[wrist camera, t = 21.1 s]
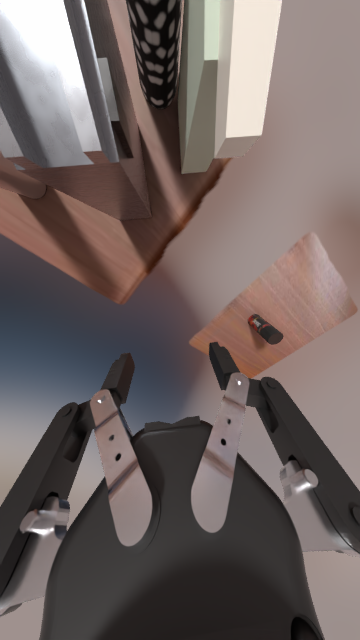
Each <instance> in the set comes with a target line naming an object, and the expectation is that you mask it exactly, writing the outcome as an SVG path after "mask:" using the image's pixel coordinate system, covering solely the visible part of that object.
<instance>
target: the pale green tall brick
mask: <svg viewBox="0 0 360 640" xmlns="http://www.w3.org/2000/svg"><path fill="white" fill-rule="evenodd" d="M219 15H220V0H184V15H183V29H182V43H181V58H180V72H179V86H178V117H179V136H180V154H181V173H182V174H186V173H198V172H206V171H207V169H208V168H209V166H210V164H211V162H212V160H213V158H214V153H215V125H216V97H217V70H218V42H219Z"/></svg>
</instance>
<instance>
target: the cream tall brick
mask: <svg viewBox="0 0 360 640" xmlns="http://www.w3.org/2000/svg"><path fill="white" fill-rule="evenodd" d="M281 4H282V0H220V15H219V42H218V70H217V97H216V125H215V153H214V159H217V158H230V157H242V156H244V155H245V154H246V153H247V151H248V150H249V149H250V148H251V147H252V146H253V145H254V143H255V142H256V141H257V140H258V139H259V138H260V136H261V135H262V129H263V123H264V116H265V109H266V103H267V96H268V89H269V83H270V76H271V70H272V64H273V57H274V51H275V44H276V37H277V31H278V24H279V18H280V11H281Z"/></svg>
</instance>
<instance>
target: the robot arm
mask: <svg viewBox="0 0 360 640" xmlns="http://www.w3.org/2000/svg"><path fill="white" fill-rule="evenodd" d="M0 188H3V189H6V190H9V191H12V192H15V193H17V194H20V195H23V196H26V197H29V198H34V199H38V198H41V197H42V196H43V195H44V194H45V192H46V184H44V183H42V182H40V181H38V180H36V179H34V178H32V177H30V176H28V175H26V174H24V173H22V172H20V171H18V170H17V169H16V167H15V165H14V163H13V162H11V161H10V160H8V159H6V158H4V156H3V154H2V152H1V151H0ZM209 357H210V361H211V364H212V366H213V369H214V372H215V374H216V377H217V380H218V383H219V385H220V388H221V390H225V391H226V392H225V395H224V397H223V399H222V402H221V405H220V407H219V410H218V414H217V416H216V419H215V422H214V425H213V426H212V425H211V424H209V423H208V422H205V421H202V420H200V418H199V416H195V417H187V418H185V419H182V420H180V421H178V422H176V423H173V424H170V423H164V422H151V423H145V428H143V429H142V430H140V431H139V432H137V433H136V434H135V435H134V436H133V434H132V432H131V430H130V428H129V426H128V424H127V422H126V420H125V417H124V415H123V413H122V411H121V409H120V405H121V404H124V403H126V399H127V396H128V392H129V388H130V384H131V380H132V376H133V373H134V368H135V365H134V361H133V359H132V356H131V354H130V353H124V354H121V356H120V358H119V360H116V361H115V362H114V363H113V364H112V366H111V368H110V371H109V373H108V375H107V377H106V379H105V381H104V383H103V385H102V388H101V390H100V391H99V392H97V393H96V394H95V395H94V396H93V397H92V399H91V400H89V401H87V402H84V403H82V404H79V405H78V404H77V403H75V402H72V403H69V404H67V405H65V406H64V407H62V408H61V409H60V410H59V411H58V412H57V414H56V415H55V417H54V419H53V420H52V422H51V424H50V425H49V427H48V429H47V430H46V432H45V434H44V435H43V437H42V439H41V440H40V442H39V444H38V445H37V447H36V449H35V450H34V452H33V454H32V455H31V457H30V459H29V460H28V462H27V464H26V465H25V467H24V468H23V470H22V472H21V474H20V475H19V477H18V478H17V480H16V482H15V483H14V485H13V487H12V489H11V490H10V492H9V494H8V495H7V497H6V498H5V500H4V502H3V503H2V505H1V507H0V616H3V615H5V614H8V613H10V612H12V611H14V610H16V609H17V608H18V607H19V606H20V605H21V604H22V603H24V602H26V601H30V600H33V599H37V598H40V597H44V596H45V601H44V611H43V620H42V626H41V633H40V639H39V640H325V639H324V637H323V633H322V631H321V628H320V625H319V622H318V619H317V615H316V612H315V609H314V605H313V602H312V598H311V595H310V590H309V587H308V582H307V577H306V573H305V566H304V559H303V554H302V552H308V551H332V550H334V551H336V552H339V553H345V554H347V555H350V556H355V557H360V491H359V490H358V489H357V487H356V486H355V485H354V483H353V482H352V480H351V479H350V478H349V476H348V475H347V474H346V472H345V471H344V469H343V468H342V467H341V465H340V464H339V463H338V461H337V460H336V459H335V457H334V456H333V455H332V453H331V452H330V451H329V449H328V448H327V446H326V445H325V444H324V443H323V441H322V440H321V438H320V437H319V436H318V434H317V433H316V431H315V430H314V429H313V427H312V426H311V425H310V423H309V422H308V421H307V419H306V418H305V417H304V415H303V414H302V412H301V411H300V410H299V408H298V407H297V406H296V404H295V403H294V402H293V400H292V399H291V398H290V396H289V395H288V393H287V392H286V391H285V390H284V388H283V387H282V385H281V384H280V383H279V382H278V381H277V380H275V379H273V378H271V377H263V378H262V379H261V381H260V380H254V379H249V378H247V377H246V376H245V375H244V374H242V373H240V371H239V369H238V368H237V366H236V364H235V362H234V361H233V359H232V357H231V355H230V353H229V352H228V350H227V349H226V348H225V347H220V346H219V344H218V342H213V343H210V344H209ZM245 405H247V406H251V407H256V409H257V411H258V414H259V416H260V418H261V420H262V422H263V424H264V426H265V428H266V430H267V432H268V435H269V437H270V439H271V441H272V443H273V445H274V447H275V449H276V451H277V453H278V455H279V458H280V459H281V461H282V464H283V467H282V468H281V470H280V480H281V483H282V486H283V489H284V501H283V503H282V502H281V500H280V499H279V497H278V496H277V495H276V494H275V492H274V491H273V490H272V489H271V488H270V487H269V486H268V485H267V484H266V482H265V481H264V480H263V479H262V478H261V477H260V476H259V475H258V474H257V473H256V472H255V470H254V469H253V468H252V467H251V466H250V465H249V464H248V463H247V462H246V461H245V460H244V459H243V457H242V456H241V455H240V454H239V453H238V446H239V441H240V436H241V430H242V425H243V419H244V414H245ZM94 428H95V429H94ZM92 429H94V432H95V437H96V441H97V445H98V449H99V453H100V457H101V461H102V465H103V469H104V473H105V477H104V478H103V480H102V481H101V483H100V484H99V486H98V487H97V488H96V490H95V491H94V493H93V494H92V496H91V497H90V498H89V500H88V501H87V503H86V504H85V506H84V507H83V509H82V510H81V511H80V513H79V514H78V516H77V517H76V519H75V520H74V522H73V523H72V524H71V526H70V528H69V529H68V531H67V523H68V519H69V512H70V504H69V502H68V501H67V499H68V496H69V493H70V490H71V488H72V485H73V482H74V479H75V476H76V474H77V471H78V468H79V465H80V462H81V460H82V457H83V454H84V451H85V448H86V445H87V443H88V440H89V437H90V434H91V431H92Z"/></svg>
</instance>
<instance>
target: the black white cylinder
mask: <svg viewBox="0 0 360 640" xmlns="http://www.w3.org/2000/svg"><path fill="white" fill-rule="evenodd" d="M126 4H127V10H128V16H129V21H130V27H131V33H132V39H133V45H134V51H135V57H136V62H137V68H138V74H139V80H140V85H141V88H142V91H143V93H144V96H145V97H146V99H147V101H148V102H149V103H150V104H151V105H152V106H153V107H155V108H157V109H163V108H166V107H167V106H168V105H169V104H170V103H171V102H172V100H173V98H174V96H175V92H176V87H177V74H178V57H179V40H180V23H181V6H182V0H126Z"/></svg>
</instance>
